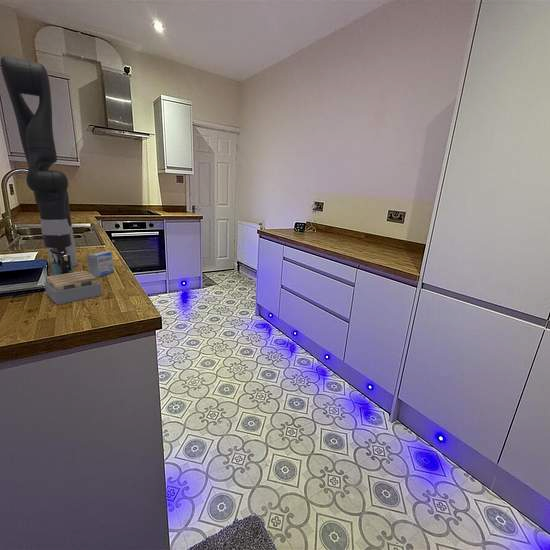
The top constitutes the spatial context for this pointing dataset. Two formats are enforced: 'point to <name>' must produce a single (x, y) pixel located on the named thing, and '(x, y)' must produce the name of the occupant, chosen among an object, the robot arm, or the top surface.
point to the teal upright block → (58, 268)
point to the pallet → (71, 279)
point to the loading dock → (73, 292)
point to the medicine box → (100, 263)
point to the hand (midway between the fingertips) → (64, 280)
